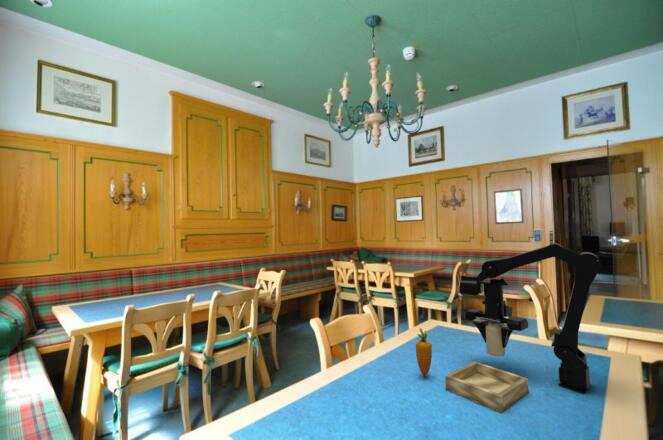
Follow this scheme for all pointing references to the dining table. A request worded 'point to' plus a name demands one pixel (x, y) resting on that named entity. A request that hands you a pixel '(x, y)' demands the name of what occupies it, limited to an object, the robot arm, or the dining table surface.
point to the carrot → (423, 353)
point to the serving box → (487, 385)
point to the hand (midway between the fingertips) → (495, 345)
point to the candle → (494, 339)
